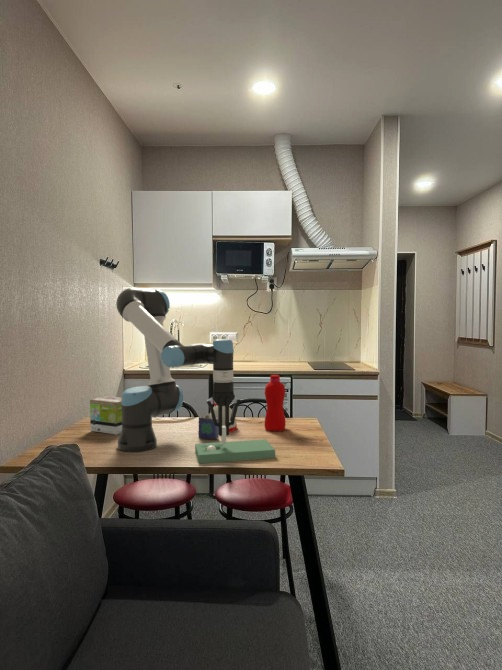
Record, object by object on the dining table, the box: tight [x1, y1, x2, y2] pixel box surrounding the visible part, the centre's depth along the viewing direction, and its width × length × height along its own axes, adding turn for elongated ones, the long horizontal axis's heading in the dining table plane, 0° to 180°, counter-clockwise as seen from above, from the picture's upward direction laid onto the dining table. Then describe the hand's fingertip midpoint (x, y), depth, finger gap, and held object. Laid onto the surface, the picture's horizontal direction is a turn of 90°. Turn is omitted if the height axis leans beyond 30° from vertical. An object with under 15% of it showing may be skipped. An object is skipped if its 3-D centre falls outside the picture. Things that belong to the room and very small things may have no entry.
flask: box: [198, 413, 219, 441], centre depth 188 cm, size 9×3×11 cm, turn 68°
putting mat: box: [194, 438, 276, 464], centre depth 166 cm, size 28×14×3 cm, turn 102°
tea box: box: [89, 395, 122, 436], centre depth 201 cm, size 15×10×15 cm, turn 68°
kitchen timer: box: [209, 400, 238, 433], centre depth 204 cm, size 14×14×15 cm
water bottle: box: [264, 374, 286, 432], centre depth 203 cm, size 9×11×25 cm
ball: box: [206, 445, 217, 451], centre depth 164 cm, size 4×4×4 cm
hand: (223, 443), depth 165 cm, fingers closed
